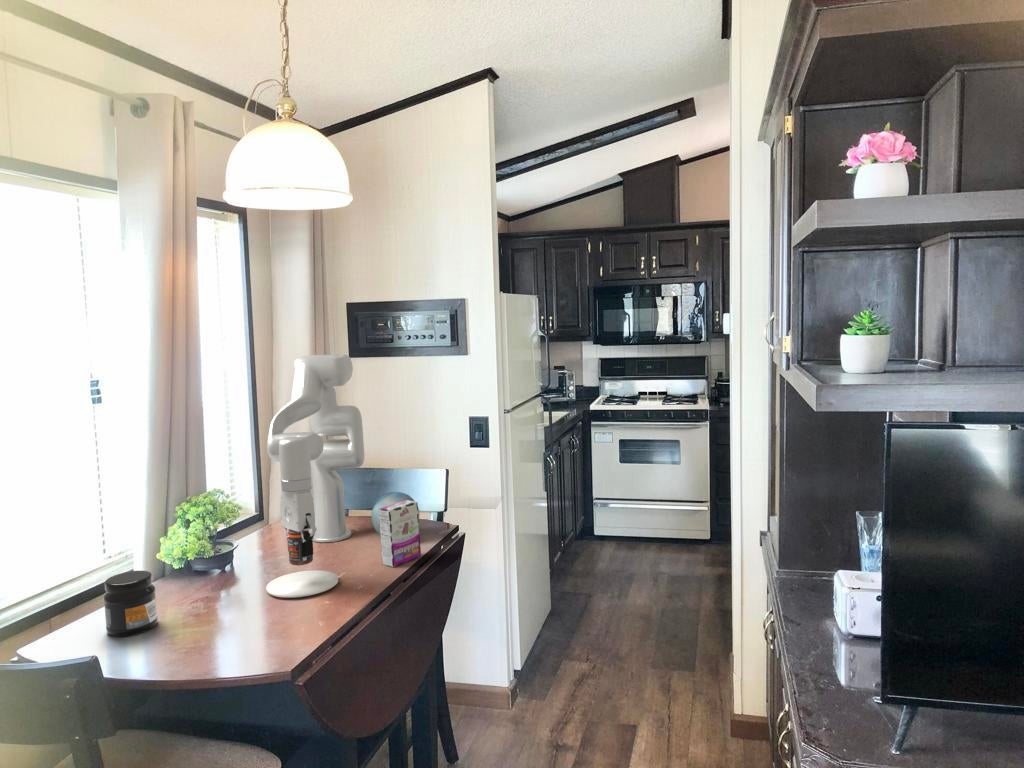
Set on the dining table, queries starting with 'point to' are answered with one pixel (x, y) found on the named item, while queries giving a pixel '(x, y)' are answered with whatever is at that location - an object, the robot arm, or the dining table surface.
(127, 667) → the dining table surface
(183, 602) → the dining table surface
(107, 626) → the supplement container
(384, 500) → the decorative ball
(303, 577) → the dish
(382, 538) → the candy bar box
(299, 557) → the supplement bottle
